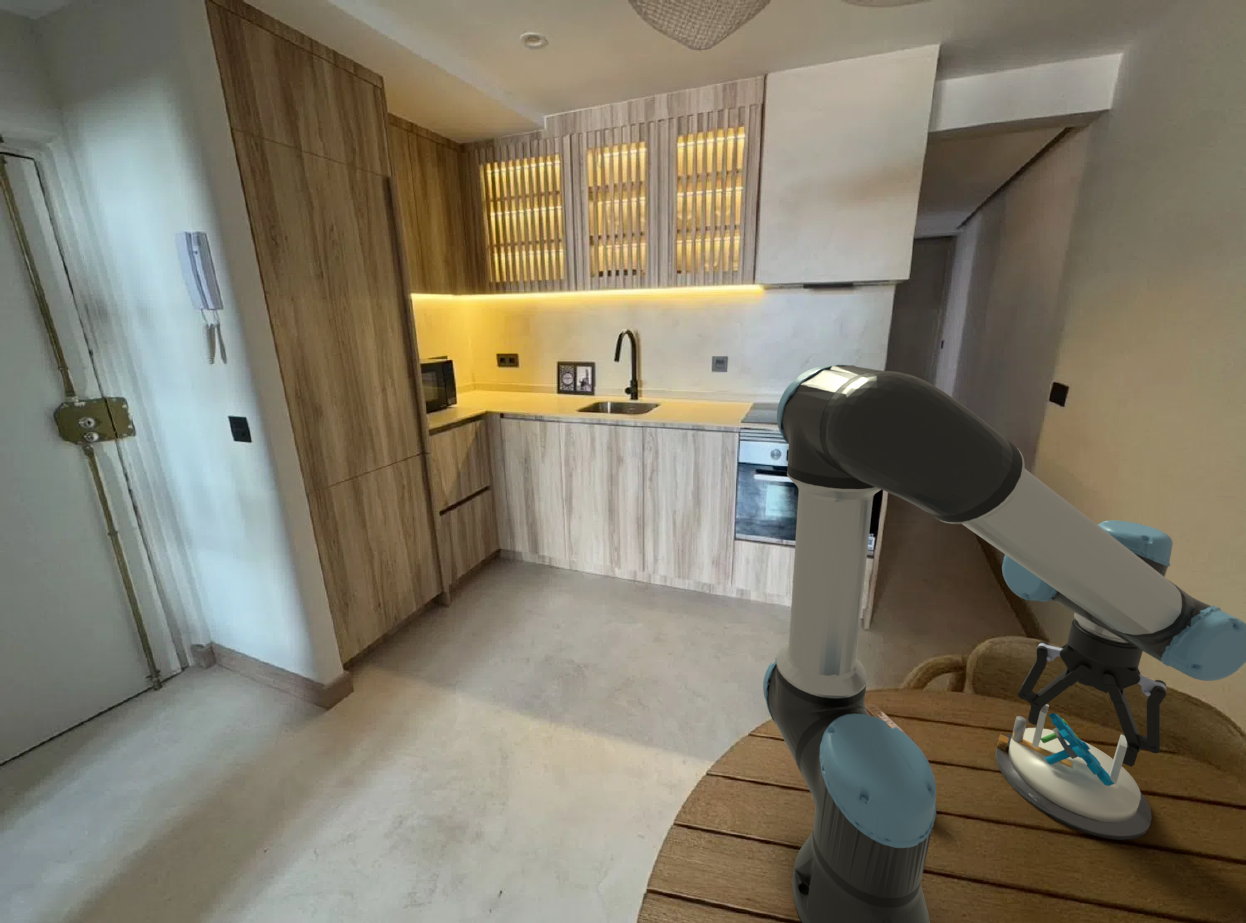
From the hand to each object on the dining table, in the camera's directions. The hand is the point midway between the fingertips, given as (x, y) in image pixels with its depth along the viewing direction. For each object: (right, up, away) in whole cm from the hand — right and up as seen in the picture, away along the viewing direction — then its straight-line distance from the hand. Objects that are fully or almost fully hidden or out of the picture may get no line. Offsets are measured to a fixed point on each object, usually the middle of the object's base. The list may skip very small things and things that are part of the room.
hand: (1073, 758), depth 76 cm
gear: (-1, -1, -1) cm, 1 cm away
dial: (0, -3, +1) cm, 3 cm away
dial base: (0, -4, +1) cm, 5 cm away
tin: (-27, -4, +5) cm, 28 cm away
